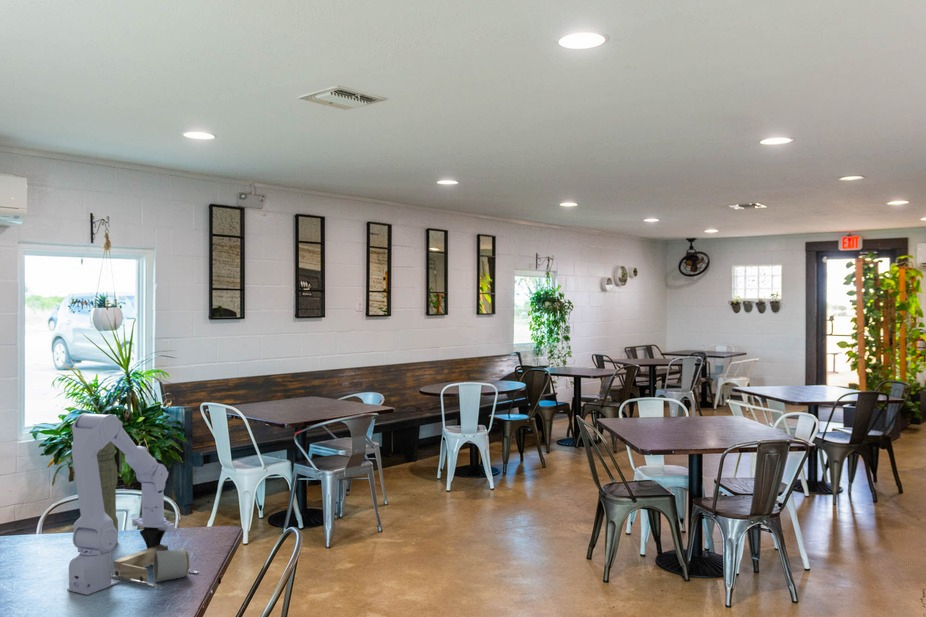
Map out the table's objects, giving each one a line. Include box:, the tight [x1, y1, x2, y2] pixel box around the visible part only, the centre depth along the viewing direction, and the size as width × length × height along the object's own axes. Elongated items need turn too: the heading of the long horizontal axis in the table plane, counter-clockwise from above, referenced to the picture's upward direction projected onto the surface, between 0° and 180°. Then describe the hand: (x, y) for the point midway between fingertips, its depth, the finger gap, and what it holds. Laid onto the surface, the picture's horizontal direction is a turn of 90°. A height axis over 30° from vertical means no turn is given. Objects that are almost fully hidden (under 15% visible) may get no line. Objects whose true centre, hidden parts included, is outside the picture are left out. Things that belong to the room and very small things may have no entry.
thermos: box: [97, 441, 123, 543], centre depth 230 cm, size 9×12×35 cm
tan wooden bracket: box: [113, 543, 169, 582], centre depth 205 cm, size 15×12×4 cm
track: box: [111, 570, 199, 589], centre depth 203 cm, size 13×23×1 cm, turn 63°
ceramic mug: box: [152, 548, 190, 583], centre depth 201 cm, size 11×8×8 cm
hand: (153, 554), depth 214 cm, fingers closed
